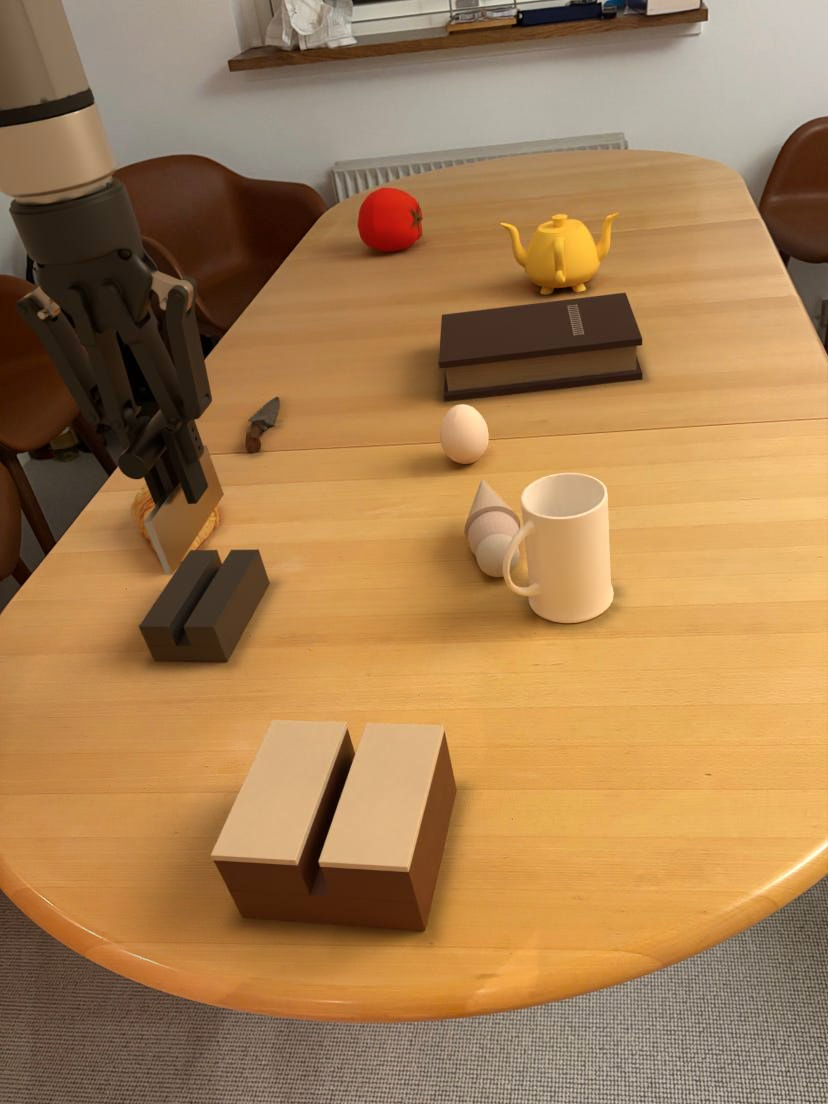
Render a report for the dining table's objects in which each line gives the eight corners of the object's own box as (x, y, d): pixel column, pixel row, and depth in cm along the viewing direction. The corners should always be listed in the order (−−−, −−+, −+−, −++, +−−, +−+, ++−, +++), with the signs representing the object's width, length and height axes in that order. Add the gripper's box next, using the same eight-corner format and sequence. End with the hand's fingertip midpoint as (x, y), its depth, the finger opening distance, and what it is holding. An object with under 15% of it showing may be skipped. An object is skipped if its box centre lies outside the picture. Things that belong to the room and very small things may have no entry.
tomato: (364, 267, 190) (423, 268, 186) (340, 225, 178) (402, 224, 174) (378, 216, 193) (436, 216, 189) (355, 170, 181) (417, 169, 177)
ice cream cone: (489, 506, 106) (508, 598, 97) (444, 487, 103) (460, 580, 94) (519, 469, 103) (542, 560, 93) (474, 448, 100) (493, 540, 90)
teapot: (502, 307, 155) (495, 236, 147) (509, 276, 166) (503, 209, 159) (621, 297, 152) (620, 225, 144) (620, 267, 163) (619, 198, 155)
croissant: (209, 593, 106) (223, 536, 101) (117, 576, 102) (127, 517, 98) (216, 498, 122) (228, 446, 117) (137, 481, 118) (146, 427, 114)
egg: (501, 456, 115) (495, 401, 111) (469, 478, 112) (461, 421, 107) (466, 445, 119) (459, 390, 114) (434, 465, 116) (425, 410, 111)
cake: (241, 917, 67) (210, 855, 62) (295, 782, 77) (271, 719, 72) (425, 931, 65) (407, 867, 60) (457, 789, 74) (443, 724, 69)
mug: (530, 649, 86) (519, 544, 79) (485, 605, 92) (470, 504, 85) (631, 601, 90) (629, 496, 82) (581, 561, 96) (575, 461, 88)
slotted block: (154, 660, 92) (138, 626, 89) (202, 583, 102) (189, 549, 99) (227, 662, 90) (213, 627, 88) (270, 582, 100) (258, 549, 97)
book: (624, 326, 142) (624, 288, 139) (642, 379, 127) (642, 338, 124) (447, 347, 144) (442, 310, 141) (444, 401, 130) (438, 362, 126)
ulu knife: (156, 574, 73) (106, 461, 66) (209, 495, 82) (170, 388, 75) (181, 574, 72) (134, 459, 66) (232, 494, 81) (195, 386, 75)
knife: (257, 441, 123) (223, 430, 123) (257, 455, 124) (222, 445, 124) (306, 397, 136) (275, 387, 136) (305, 410, 137) (274, 401, 137)
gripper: (192, 160, 61) (283, 468, 76) (-9, 182, 64) (117, 475, 79) (147, 192, 56) (254, 518, 71) (-72, 214, 58) (77, 523, 73)
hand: (182, 495), depth 75 cm, fingers closed on ulu knife, 2 cm apart
